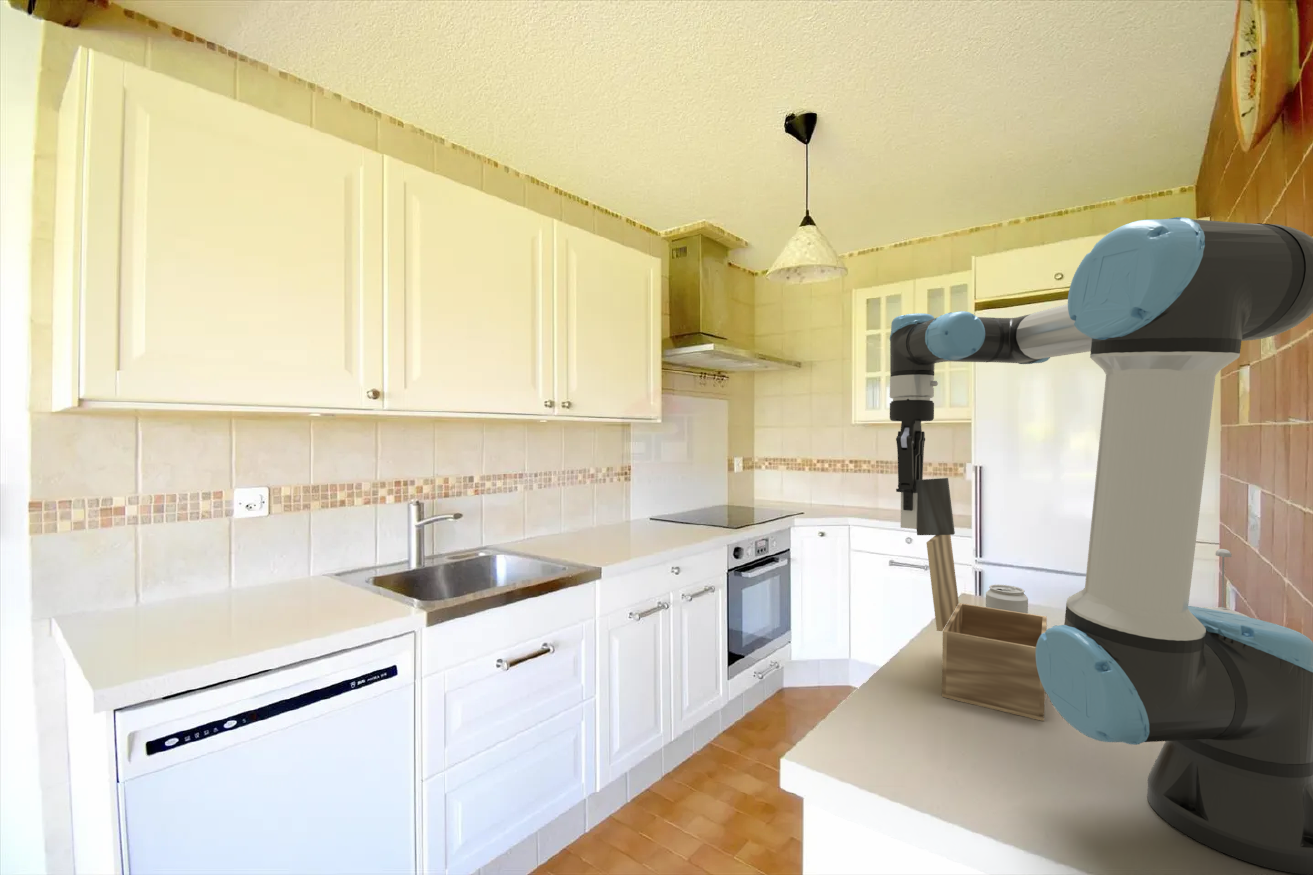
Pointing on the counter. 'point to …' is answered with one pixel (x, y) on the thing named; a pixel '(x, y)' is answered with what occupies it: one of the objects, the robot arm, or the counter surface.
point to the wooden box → (993, 660)
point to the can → (1007, 598)
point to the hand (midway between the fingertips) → (910, 526)
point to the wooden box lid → (938, 544)
